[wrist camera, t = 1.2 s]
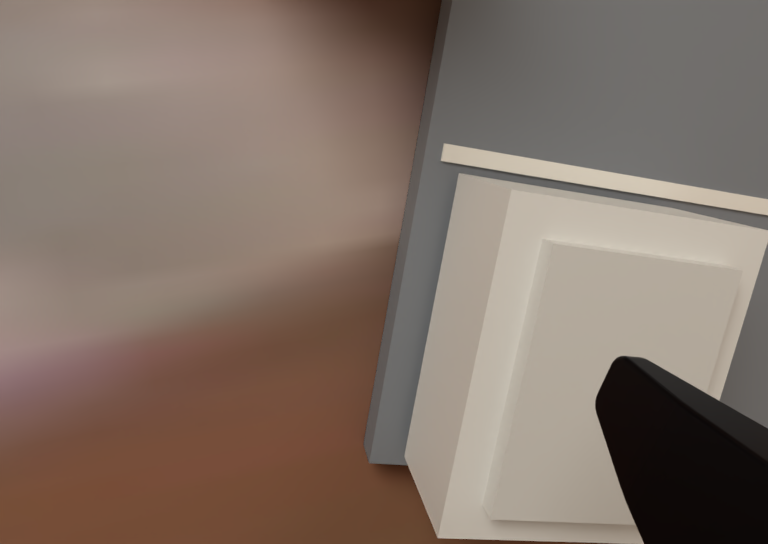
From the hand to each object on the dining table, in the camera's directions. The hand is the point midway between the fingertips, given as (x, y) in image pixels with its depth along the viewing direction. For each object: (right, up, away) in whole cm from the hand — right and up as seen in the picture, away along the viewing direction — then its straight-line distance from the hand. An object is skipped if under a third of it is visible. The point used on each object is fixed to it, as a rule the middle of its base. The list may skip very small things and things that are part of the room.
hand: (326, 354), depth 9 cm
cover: (+6, -1, +11) cm, 12 cm away
